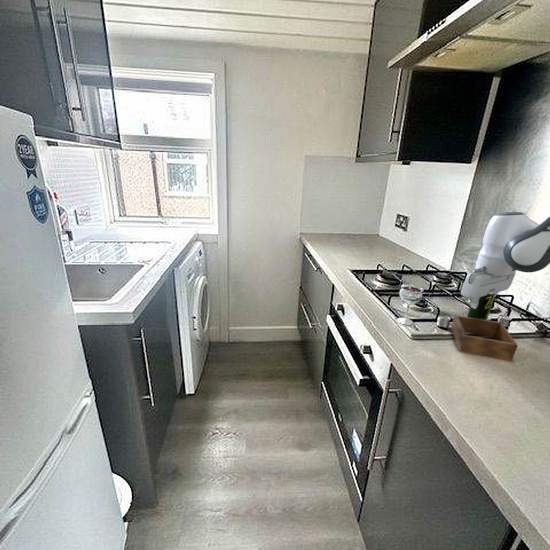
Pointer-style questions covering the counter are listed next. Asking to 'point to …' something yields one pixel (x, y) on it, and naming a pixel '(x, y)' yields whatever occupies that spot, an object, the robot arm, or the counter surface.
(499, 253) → the robot arm
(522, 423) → the counter surface
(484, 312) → the beer can
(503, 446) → the counter surface
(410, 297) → the wineglass
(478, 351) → the brown wooden open box
